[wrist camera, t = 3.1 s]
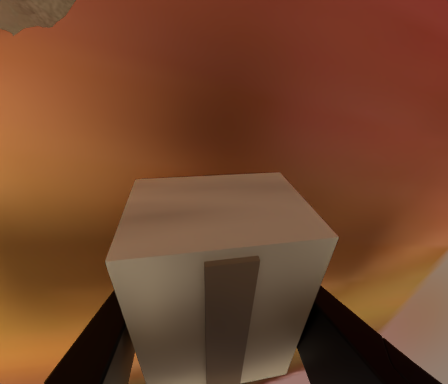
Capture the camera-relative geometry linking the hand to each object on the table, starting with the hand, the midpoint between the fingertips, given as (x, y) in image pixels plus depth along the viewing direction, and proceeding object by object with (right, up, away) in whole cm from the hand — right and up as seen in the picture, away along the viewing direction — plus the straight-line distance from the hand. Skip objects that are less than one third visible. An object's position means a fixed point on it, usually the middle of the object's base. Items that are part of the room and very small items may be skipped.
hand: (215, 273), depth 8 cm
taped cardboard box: (0, +1, +1) cm, 1 cm away
